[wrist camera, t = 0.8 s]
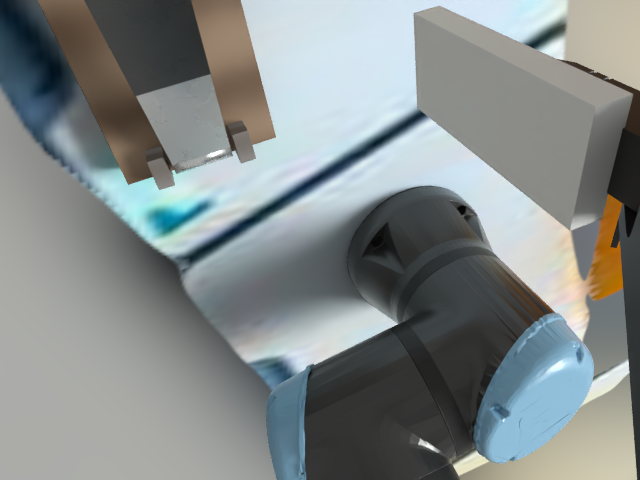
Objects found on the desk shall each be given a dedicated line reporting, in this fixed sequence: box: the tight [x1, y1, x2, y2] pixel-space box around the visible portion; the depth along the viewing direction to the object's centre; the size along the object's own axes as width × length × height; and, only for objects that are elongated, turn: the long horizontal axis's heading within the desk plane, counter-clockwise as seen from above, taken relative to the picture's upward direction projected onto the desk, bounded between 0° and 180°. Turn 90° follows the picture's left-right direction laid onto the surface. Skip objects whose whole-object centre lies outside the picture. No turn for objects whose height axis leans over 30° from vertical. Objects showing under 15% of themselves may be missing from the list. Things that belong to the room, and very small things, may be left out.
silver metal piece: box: [84, 0, 233, 174], centre depth 31 cm, size 18×4×2 cm
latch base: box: [38, 0, 276, 190], centre depth 33 cm, size 22×12×6 cm, turn 11°
